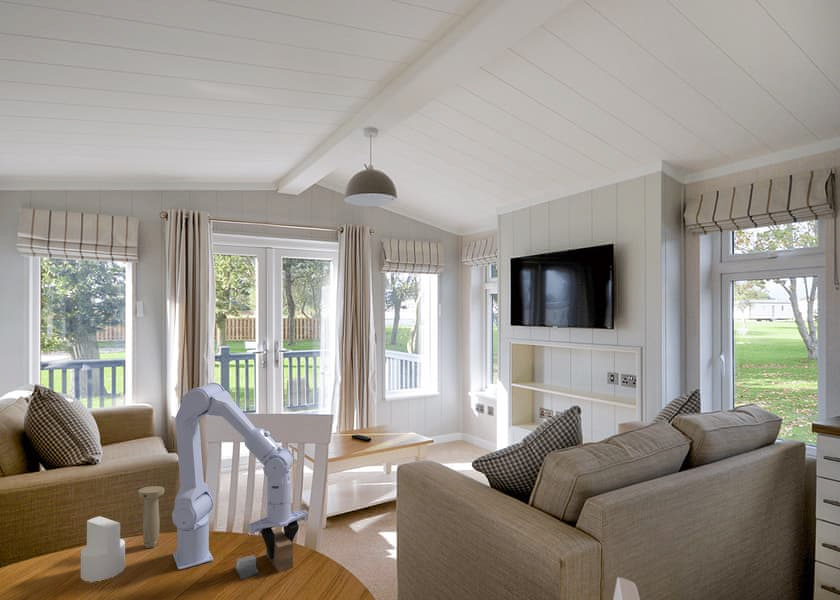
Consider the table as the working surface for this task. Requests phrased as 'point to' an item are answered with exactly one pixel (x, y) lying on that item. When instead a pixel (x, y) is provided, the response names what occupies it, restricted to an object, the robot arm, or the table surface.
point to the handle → (151, 514)
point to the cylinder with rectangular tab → (102, 550)
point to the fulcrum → (246, 566)
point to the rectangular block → (282, 551)
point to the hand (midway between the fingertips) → (279, 554)
